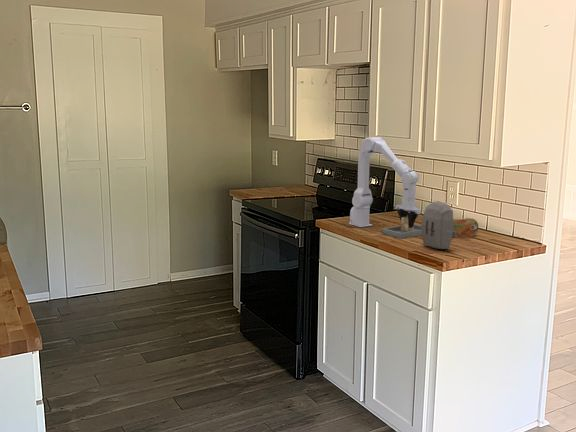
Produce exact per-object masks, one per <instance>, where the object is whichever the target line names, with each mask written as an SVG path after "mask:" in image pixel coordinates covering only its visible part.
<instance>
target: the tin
mask: <svg viewBox="0 0 576 432" xmlns="http://www.w3.org/2000/svg"><path fill="white" fill-rule="evenodd" d="M478 231H479V223H478V221H477V220H476V219H474V218H453V234H452V238H470V237H474V236H475V235H476V234H478V233H477V232H478Z"/></svg>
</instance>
